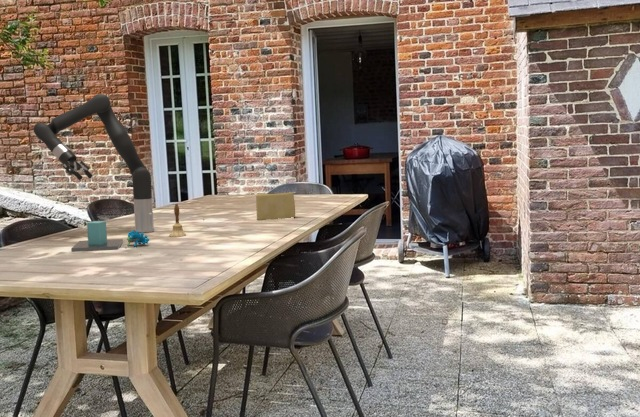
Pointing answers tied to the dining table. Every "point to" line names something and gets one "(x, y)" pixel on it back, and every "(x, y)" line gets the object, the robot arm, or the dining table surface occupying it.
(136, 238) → the blue spiky toy
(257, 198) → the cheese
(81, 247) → the mount plate
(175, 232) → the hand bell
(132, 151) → the robot arm
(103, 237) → the cap
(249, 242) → the dining table surface
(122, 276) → the dining table surface
